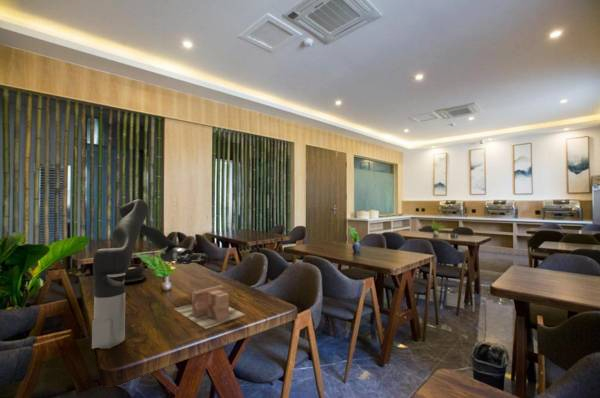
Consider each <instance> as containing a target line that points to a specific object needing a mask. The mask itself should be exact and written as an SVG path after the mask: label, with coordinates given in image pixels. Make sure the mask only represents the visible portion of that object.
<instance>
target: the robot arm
mask: <svg viewBox="0 0 600 398" xmlns="http://www.w3.org/2000/svg"><path fill="white" fill-rule="evenodd" d="M118 210H119V214H120V217H121V219H120V220H119V221H118V223H117V224H116V225H115V227H114V229H113V231H112V236H111V237H112V240H113V242H115V244H116V245H117V246H118V247H112V248H110V247H108V248H100V249H96V250H95V252H94V255H93V259H92V260H93V261H92V269H93V270H92V271H93V299H94V301H93V320H92V322H91V349H94V350H96V349H95V348H100V349H111V348H113V347H115V346H118V345H120V344H122V343H123V342H124V341H125V338H126V283H125V282H124V283H122V282H118V281H115V280H112V279H110V278H109V277H108V276H107V275H112V274H122V273H125V272H126V271H127V270H128V269H129V266H130V265H131V262H132V257H133V254H134V253H133V252H134V249H135V246H136V244H137V240H138V238H139V235H140V234H142V235H143V236H144V237H146V238H147V239H148V240H149V242H151V244H153V246H154V247H155V248H156V249H158V250H162V251H161V252H160V254H159V256H160V259H161V260H162V261H164V262H166V263H173V262H175V263H178V264H183V265H190V264H191V263H193V262H200V261H205V262H208V261H209V255H208V254H207V253H202V252H201V253H195V252H194V251H193V250H192V249H188V248H184V247H180V246H179V245H178V244H177V243H175V242H173V241H172V240H170V239H169V238H167V236H166V235H165V233H164V232H162V231H161V230H160V229H159V228H157V227H154V226H151V225H148V224H145V223H144V221H145V219H146V218H147V216H148V215H149V206H148V204H147V203H146V201H144V200H143V199H139V198H138V199H135V200H131V201H130V202H128V203H125V204H124V205H122V206H120V207H119V209H118ZM100 349H99V350H100Z"/></svg>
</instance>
